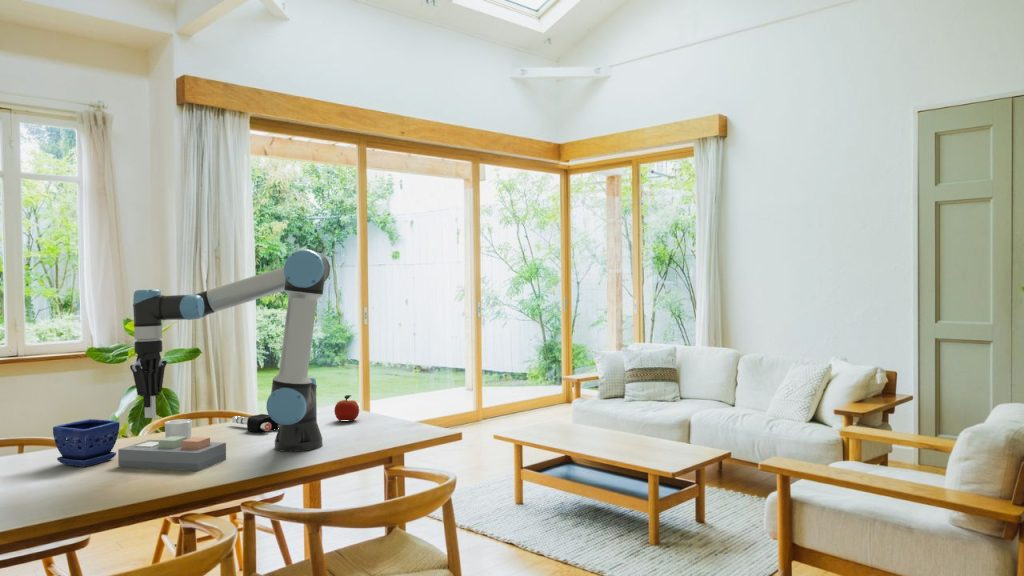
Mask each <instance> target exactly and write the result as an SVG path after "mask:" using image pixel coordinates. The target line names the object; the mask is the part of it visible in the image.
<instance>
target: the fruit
mask: <svg viewBox="0 0 1024 576" xmlns="http://www.w3.org/2000/svg"><path fill="white" fill-rule="evenodd" d="M351 397H352V395H350V394H347V395H344V399H343V400H339V401H337V403H336V404H335V406H334V415H335V418H336V419H337V420H338V421H340V420H353V421H354V420H356V419H357V418H358V417H359V413H360V407H359V404H358V402H357V401H356V400H353V399H352V400H351V399H350V400H348V399H349V398H351Z"/></svg>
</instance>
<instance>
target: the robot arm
mask: <svg viewBox="0 0 1024 576" xmlns="http://www.w3.org/2000/svg"><path fill="white" fill-rule="evenodd" d="M330 273H331V265H330V262H329V260H328V258H327V257H325V255H323V254H322V253H320V252H317V251H315V250H313V249H306V248H304V249H299V250H295V251H294V252H292V253H291V254H289V255H288V257H287V258H286V260H285V262H284V265H283V266H282V267H279V268H276V269H272V270H269V271H266V272H263V273H259V274H257V275H254V276H250V277H246V278H244V279H240V280H237V281H233V282H230V283H228V284H224V285H222V286H218V287H214V288H212V289H208V290H205V291H202V292H198V293H194V294H175V295H163V294H162V291H161V290H160V289H158V288H157V289H156V288H155V289H137V290H135V291H133V299H132V301H133V304H132V306H133V307H132V308H133V309H132V310H133V331H134V340H135V342H134V354H136V356H137V357H136V361H135V363H134V364H131V365H130V367H129V369H130V370H131V372H132V375H133V380H134V384H135V389H136V393H137V396H140V397H141V398H143V408H144V418H145V419H153V418H156V417H157V407H156V406H157V396H159V395H160V393H161V392H162V391H163V384H164V378H165V377H164V375H165V370H166V366H167V363H168V361H167V360H163V359H162V356H161V353H162V352H163V341H162V338H163V325H162V321H169V320H170V321H171V320H173V321H174V320H176V321H178V320H179V321H180V320H181V321H182V320H183V321H185V320H186V321H187V320H188V321H190V320H198V319H199V320H200V319H201V318H204V317H207V316H208V315H211V314H214V313H217V312H220V311H223V310H227V309H230V308H233V307H237V306H239V305H243V304H246V303H249V302H252V301H255V300H259V299H261V298H265V297H269V296H271V295H274V294H278V293H282V292H285V294H286V295H287V298H288V300H287V305H286V306H287V307H286V315H285V322H284V323H285V324H284V329H283V330H284V331H283V339H282V345H281V354H280V363H279V369H278V374H277V375H275V376H274V377H272V384H271V392H270V393H269V396H268V398H267V400H266V411H267V412H266V413H267V415H269V416H270V418H271V419H272V420H273V421H275V422H276V423H278V424H280V426H279V429H278V430H277V432H276V433H277V434H276V436H275V439H274V449H275V450H276V451H280V452H302V451H303V452H304V451H310V450H313V449H318V448H321V447H322V446H323V436H322V433H321V430H320V428H319V425H318V422H317V415H318V414H317V413H318V412H317V410H318V409H317V387H318V385H317V381H316V378H315V377H314V376H309V375H308V374H309V367H310V358H311V350H312V343H313V342H312V341H313V334H314V327H315V319H316V311H317V304H318V303H317V302H318V300H319V299H320V298H321V297H323V295H324V287H325V282H326V281H327V279H328V278H329V276H330Z"/></svg>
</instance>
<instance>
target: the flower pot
mask: <svg viewBox="0 0 1024 576" xmlns="http://www.w3.org/2000/svg"><path fill="white" fill-rule="evenodd" d="M119 433H120V422H119V421H116V420H107V419H96V418H95V419H93V418H90V419H89V418H88V419H84V420H79V421H73V422H69V423H64V424H59V425H58V424H57V425H55V426H53V428H52V435H53V440H54V442H55V446H56V448H57V450H58V452H59V454H61V456H59V457H57V458H56V460H57V461H58V462H59V463H60V464H62V465H67V466H73V465H74V466H76V467H83V468H86V467H89V466H92V465H97V464H100V463H104V462H107V461H111V460H112V459H113V458H114V457H115V456H116V455H117V452H116V451H115V452H114V451H112V450H113V449H114V447H115V445H116V442H117V440H118V436H119ZM74 466H73V467H74ZM85 466H86V467H85Z"/></svg>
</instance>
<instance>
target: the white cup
mask: <svg viewBox="0 0 1024 576" xmlns="http://www.w3.org/2000/svg"><path fill="white" fill-rule="evenodd" d="M192 424H193V421H192V419H190V418H181V419H180V418H179V419H172V420H168V421H167V420H166V421H164V434H165V438H167V437H170V436H181V437H187V439H190V438H192V428H193V427H192Z"/></svg>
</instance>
